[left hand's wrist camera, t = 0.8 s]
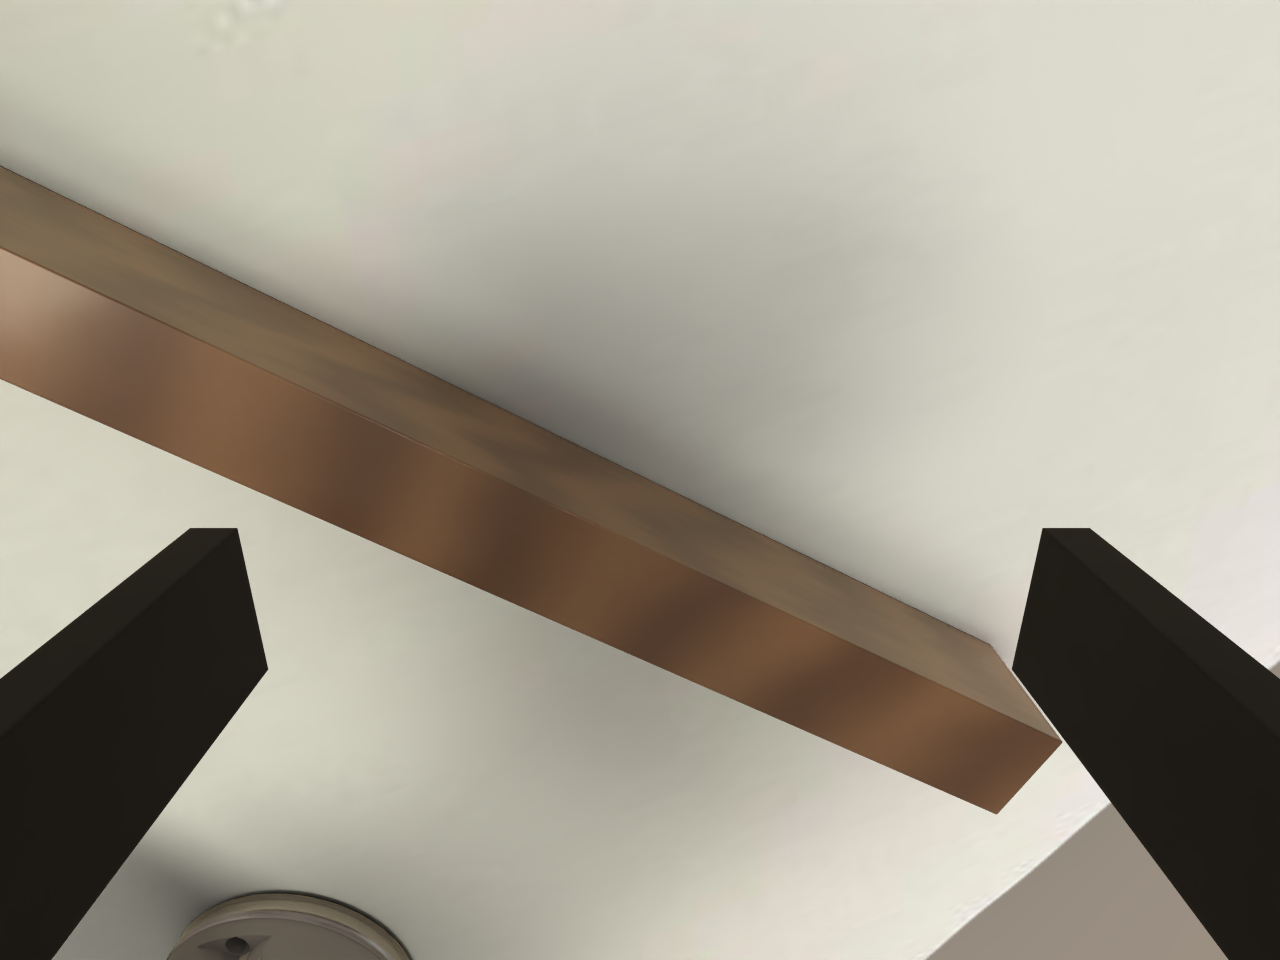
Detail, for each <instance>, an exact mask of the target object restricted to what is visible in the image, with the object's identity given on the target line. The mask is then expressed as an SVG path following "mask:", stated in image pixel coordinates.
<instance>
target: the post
mask: <svg viewBox="0 0 1280 960" xmlns="http://www.w3.org/2000/svg"><path fill="white" fill-rule="evenodd" d="M0 379H2V380H4V381H6V382H8V383H11V384H13V385H15V386H18V387H20V388H22V389H25V390H27V391H29V392H31V393H34V394H36V395H38V396H41V397H43V398H45V399H47V400H50V401H52V402H54V403H57V404H59V405H61V406H63V407H66V408H68V409H70V410H73V411H75V412H77V413H79V414H82V415H84V416H86V417H89V418H91V419H93V420H95V421H98V422H100V423H102V424H105V425H107V426H109V427H111V428H114V429H116V430H118V431H121V432H123V433H125V434H127V435H130V436H132V437H134V438H137V439H139V440H141V441H143V442H146V443H148V444H150V445H153V446H155V447H157V448H159V449H162V450H164V451H166V452H169V453H171V454H173V455H175V456H178V457H180V458H182V459H185V460H187V461H189V462H191V463H194V464H196V465H198V466H201V467H203V468H205V469H208V470H210V471H212V472H214V473H217V474H219V475H221V476H224V477H226V478H228V479H230V480H233V481H235V482H237V483H240V484H242V485H244V486H246V487H249V488H251V489H253V490H256V491H258V492H260V493H262V494H265V495H267V496H269V497H272V498H274V499H276V500H278V501H281V502H283V503H285V504H288V505H290V506H292V507H294V508H297V509H299V510H301V511H304V512H306V513H308V514H310V515H313V516H315V517H317V518H320V519H322V520H324V521H326V522H329V523H331V524H333V525H336V526H338V527H340V528H342V529H345V530H347V531H349V532H352V533H354V534H356V535H358V536H361V537H363V538H365V539H368V540H370V541H372V542H374V543H377V544H379V545H381V546H384V547H386V548H388V549H390V550H393V551H395V552H397V553H400V554H402V555H404V556H407V557H409V558H411V559H413V560H416V561H418V562H420V563H423V564H425V565H427V566H429V567H432V568H434V569H436V570H439V571H441V572H443V573H445V574H448V575H450V576H452V577H455V578H457V579H459V580H461V581H464V582H466V583H468V584H471V585H473V586H475V587H477V588H480V589H482V590H484V591H487V592H489V593H491V594H493V595H496V596H498V597H500V598H503V599H505V600H507V601H509V602H512V603H514V604H516V605H519V606H521V607H523V608H525V609H528V610H530V611H532V612H535V613H537V614H539V615H541V616H544V617H546V618H548V619H551V620H553V621H555V622H557V623H560V624H562V625H564V626H567V627H569V628H571V629H573V630H576V631H578V632H580V633H583V634H585V635H587V636H590V637H592V638H594V639H596V640H599V641H601V642H603V643H606V644H608V645H610V646H612V647H615V648H617V649H619V650H622V651H624V652H626V653H628V654H631V655H633V656H635V657H638V658H640V659H642V660H644V661H647V662H649V663H651V664H654V665H656V666H658V667H660V668H663V669H665V670H667V671H670V672H672V673H674V674H676V675H679V676H681V677H683V678H686V679H688V680H690V681H692V682H695V683H697V684H699V685H702V686H704V687H706V688H708V689H711V690H713V691H715V692H718V693H720V694H722V695H724V696H727V697H729V698H731V699H734V700H736V701H738V702H740V703H743V704H745V705H747V706H750V707H752V708H754V709H756V710H759V711H761V712H763V713H766V714H768V715H770V716H772V717H775V718H777V719H779V720H782V721H784V722H786V723H789V724H791V725H793V726H795V727H798V728H800V729H802V730H805V731H807V732H809V733H811V734H814V735H816V736H818V737H821V738H823V739H825V740H827V741H830V742H832V743H834V744H837V745H839V746H841V747H843V748H846V749H848V750H850V751H853V752H855V753H857V754H859V755H862V756H864V757H866V758H869V759H871V760H873V761H875V762H878V763H880V764H882V765H885V766H887V767H889V768H891V769H894V770H896V771H898V772H901V773H903V774H905V775H907V776H910V777H912V778H914V779H917V780H919V781H921V782H923V783H926V784H928V785H930V786H933V787H935V788H937V789H939V790H942V791H944V792H946V793H949V794H951V795H953V796H955V797H958V798H960V799H962V800H965V801H967V802H969V803H972V804H974V805H976V806H978V807H981V808H983V809H985V810H988V811H990V812H992V813H994V814H998V813H999V812H1000V811H1001V809H1002V808H1003V807H1004V806H1005V805H1006V804H1007V803H1008V802H1009V801H1010V800H1011V798H1012V797H1013V796H1014V795H1015V794H1016V793H1017V792H1018V791H1019V790H1020V789H1021V787H1022V786H1023V785H1024V784H1025V783H1026V782H1027V781H1028V780H1029V779H1030V778H1031V777H1032V775H1033V774H1034V773H1035V772H1036V771H1037V770H1038V769H1039V768H1040V767H1041V766H1042V764H1043V763H1044V762H1045V761H1046V760H1047V759H1048V758H1049V757H1050V756H1051V755H1052V753H1053V752H1054V751H1055V750H1056V749H1057V748H1058V747H1059V746H1060V745H1061V744H1062V740H1061V739H1060V738H1059V736H1058V735H1057V734H1056V732H1055V731H1054V730H1053V728H1052V727H1051V726H1050V724H1049V723H1048V722H1047V720H1046V719H1045V718H1044V716H1043V715H1042V713H1041V712H1040V711H1039V709H1038V708H1037V707H1036V705H1035V704H1034V703H1033V701H1032V700H1031V699H1030V697H1029V696H1028V695H1027V693H1026V692H1025V690H1024V689H1023V688H1022V686H1021V685H1020V684H1019V682H1018V681H1017V680H1016V678H1015V677H1014V676H1013V674H1012V673H1011V672H1010V670H1009V669H1008V668H1007V666H1006V665H1005V663H1004V662H1003V661H1002V659H1001V658H1000V657H999V655H998V654H997V653H996V651H995V650H994V649H993V647H992V646H991V645H989V644H987V643H985V642H982V641H980V640H978V639H976V638H974V637H972V636H970V635H968V634H966V633H964V632H962V631H960V630H958V629H956V628H954V627H951V626H949V625H947V624H945V623H943V622H941V621H939V620H937V619H935V618H933V617H931V616H929V615H927V614H925V613H923V612H920V611H918V610H916V609H914V608H912V607H910V606H908V605H906V604H904V603H902V602H900V601H898V600H896V599H894V598H892V597H889V596H887V595H885V594H883V593H881V592H879V591H877V590H875V589H873V588H871V587H869V586H867V585H865V584H863V583H861V582H858V581H856V580H854V579H852V578H850V577H848V576H846V575H844V574H842V573H840V572H838V571H836V570H834V569H832V568H830V567H827V566H825V565H823V564H821V563H819V562H817V561H815V560H813V559H811V558H809V557H807V556H805V555H803V554H801V553H799V552H796V551H794V550H792V549H790V548H788V547H786V546H784V545H782V544H780V543H778V542H776V541H774V540H772V539H770V538H768V537H765V536H763V535H761V534H759V533H757V532H755V531H753V530H751V529H749V528H747V527H745V526H743V525H741V524H739V523H737V522H734V521H732V520H730V519H728V518H726V517H724V516H722V515H720V514H718V513H716V512H714V511H712V510H710V509H708V508H706V507H703V506H701V505H699V504H697V503H695V502H693V501H691V500H689V499H687V498H685V497H683V496H681V495H679V494H677V493H675V492H672V491H670V490H668V489H666V488H664V487H662V486H660V485H658V484H656V483H654V482H652V481H650V480H648V479H646V478H644V477H641V476H639V475H637V474H635V473H633V472H631V471H629V470H627V469H625V468H623V467H621V466H619V465H617V464H615V463H613V462H610V461H608V460H606V459H604V458H602V457H600V456H598V455H596V454H594V453H592V452H590V451H588V450H586V449H584V448H581V447H579V446H577V445H575V444H573V443H571V442H569V441H567V440H565V439H563V438H561V437H559V436H557V435H555V434H553V433H550V432H548V431H546V430H544V429H542V428H540V427H538V426H536V425H534V424H532V423H530V422H528V421H526V420H524V419H522V418H519V417H517V416H515V415H513V414H511V413H509V412H507V411H505V410H503V409H501V408H499V407H497V406H495V405H493V404H491V403H488V402H486V401H484V400H482V399H480V398H478V397H476V396H474V395H472V394H470V393H468V392H466V391H464V390H462V389H460V388H457V387H455V386H453V385H451V384H449V383H447V382H445V381H443V380H441V379H439V378H437V377H435V376H433V375H431V374H429V373H426V372H424V371H422V370H420V369H418V368H416V367H414V366H412V365H410V364H408V363H406V362H404V361H402V360H400V359H398V358H395V357H393V356H391V355H389V354H387V353H385V352H383V351H381V350H379V349H377V348H375V347H373V346H371V345H369V344H367V343H364V342H362V341H360V340H358V339H356V338H354V337H352V336H350V335H348V334H346V333H344V332H342V331H340V330H338V329H336V328H333V327H331V326H329V325H327V324H325V323H323V322H321V321H319V320H317V319H315V318H313V317H311V316H309V315H307V314H305V313H302V312H300V311H298V310H296V309H294V308H292V307H290V306H288V305H286V304H284V303H282V302H280V301H278V300H276V299H274V298H271V297H269V296H267V295H265V294H263V293H261V292H259V291H257V290H255V289H253V288H251V287H249V286H247V285H245V284H243V283H240V282H238V281H236V280H234V279H232V278H230V277H228V276H226V275H224V274H222V273H220V272H218V271H216V270H214V269H212V268H209V267H207V266H205V265H203V264H201V263H199V262H197V261H195V260H193V259H191V258H189V257H187V256H185V255H183V254H181V253H178V252H176V251H174V250H172V249H170V248H168V247H166V246H164V245H162V244H160V243H158V242H156V241H154V240H152V239H150V238H147V237H145V236H143V235H141V234H139V233H137V232H135V231H133V230H131V229H129V228H127V227H125V226H123V225H121V224H119V223H116V222H114V221H112V220H110V219H108V218H106V217H104V216H102V215H100V214H98V213H96V212H94V211H92V210H90V209H88V208H85V207H83V206H81V205H79V204H77V203H75V202H73V201H71V200H69V199H67V198H65V197H63V196H61V195H59V194H56V193H54V192H52V191H50V190H48V189H46V188H44V187H42V186H40V185H38V184H36V183H34V182H32V181H30V180H28V179H25V178H23V177H21V176H19V175H17V174H15V173H13V172H11V171H9V170H7V169H5V168H3V167H1V166H0Z"/></svg>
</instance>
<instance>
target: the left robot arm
mask: <svg viewBox="0 0 1280 960" xmlns="http://www.w3.org/2000/svg"><path fill="white" fill-rule="evenodd" d="M267 670H268V666H267V662H266V657H265V653H264V648H263V643H262V639H261V634H260V630H259V625H258V621H257V616H256V611H255V607H254V602H253V598H252V593H251V589H250V584H249V579H248V575H247V570H246V566H245V561H244V557H243V552H242V547H241V543H240V538H239V534H238V529H237V528H190V529H189V530H187V531H186V532H185V533H184V534H182V535H181V536H180V537H179V538H177V539H176V540H175V541H174V542H172V543H171V544H170V545H168V546H167V547H166V548H165V549H163V550H162V551H161V552H160V553H158V554H157V555H156V556H155V557H153V558H152V559H151V560H150V561H148V562H147V563H146V564H145V565H143V566H142V567H141V568H139V569H138V570H137V571H136V572H134V573H133V574H132V575H131V576H129V577H128V578H127V579H126V580H124V581H123V582H122V583H121V584H119V585H118V586H117V587H116V588H114V589H113V590H112V591H111V592H109V593H108V594H107V595H105V596H104V597H103V598H102V599H100V600H99V601H98V602H97V603H95V604H94V605H93V606H92V607H90V608H89V609H88V610H87V611H85V612H84V613H83V614H82V615H80V616H79V617H78V618H76V619H75V620H74V621H73V622H71V623H70V624H69V625H68V626H66V627H65V628H64V629H63V630H61V631H60V632H59V633H58V634H56V635H55V636H54V637H53V638H51V639H50V640H49V641H47V642H46V643H45V644H44V645H42V646H41V647H40V648H39V649H37V650H36V651H35V652H34V653H32V654H31V655H30V656H29V657H27V658H26V659H25V660H24V661H22V662H21V663H20V664H19V665H17V666H16V667H15V668H13V669H12V670H11V671H10V672H8V673H7V674H6V675H5V676H3V677H2V678H1V679H0V960H51V959H52V958H53V957H54V955H55V954H56V953H57V951H58V950H59V949H60V947H61V946H62V945H63V943H64V942H65V941H66V939H67V938H68V937H69V935H70V934H71V933H72V931H73V930H74V929H75V927H76V926H77V925H78V923H79V922H80V921H81V919H82V918H83V917H84V915H85V914H86V913H87V911H88V910H89V909H90V907H91V906H92V905H93V903H94V902H95V901H96V899H97V898H98V897H99V895H100V894H101V893H102V891H103V890H104V888H105V887H106V886H107V884H108V883H109V882H110V880H111V879H112V878H113V876H114V875H115V874H116V872H117V871H118V870H119V868H120V867H121V866H122V864H123V863H124V862H125V860H126V859H127V858H128V856H129V855H130V854H131V852H132V851H133V850H134V848H135V847H136V846H137V844H138V843H139V842H140V840H141V839H142V838H143V836H144V835H145V834H146V832H147V831H148V830H149V828H150V827H151V826H152V824H153V823H154V822H155V820H156V819H157V818H158V816H159V815H160V813H161V812H162V811H163V809H164V808H165V807H166V805H167V804H168V803H169V801H170V800H171V799H172V797H173V796H174V795H175V793H176V792H177V791H178V789H179V788H180V787H181V785H182V784H183V783H184V781H185V780H186V779H187V777H188V776H189V775H190V773H191V772H192V771H193V769H194V768H195V767H196V765H197V764H198V763H199V761H200V760H201V759H202V757H203V756H204V755H205V753H206V752H207V751H208V749H209V748H210V747H211V745H212V744H213V743H214V741H215V740H216V739H217V737H218V736H219V734H220V733H221V732H222V730H223V729H224V728H225V726H226V725H227V724H228V722H229V721H230V720H231V718H232V717H233V716H234V714H235V713H236V712H237V710H238V709H239V708H240V706H241V705H242V704H243V702H244V701H245V700H246V698H247V697H248V696H249V694H250V693H251V692H252V690H253V689H254V688H255V686H256V685H257V684H258V682H259V681H260V680H261V678H262V677H263V676H264V674H265V673H266V672H267ZM1012 670H1013V672H1014V673H1015V674H1016V676H1017V677H1018V678H1019V680H1020V681H1021V682H1022V684H1023V685H1024V686H1025V688H1026V689H1027V690H1028V692H1029V693H1030V694H1031V696H1032V697H1033V698H1034V700H1035V701H1036V702H1037V704H1038V705H1039V706H1040V708H1041V709H1042V710H1043V712H1044V713H1045V714H1046V716H1047V717H1048V718H1049V720H1050V721H1051V722H1052V724H1053V725H1054V726H1055V728H1056V729H1057V730H1058V732H1059V733H1060V734H1061V736H1062V737H1063V739H1064V740H1065V741H1066V743H1067V744H1068V745H1069V747H1070V748H1071V749H1072V751H1073V752H1074V753H1075V755H1076V756H1077V757H1078V759H1079V760H1080V761H1081V763H1082V764H1083V765H1084V767H1085V768H1086V769H1087V771H1088V772H1089V773H1090V775H1091V776H1092V777H1093V779H1094V780H1095V781H1096V783H1097V784H1098V785H1099V787H1100V788H1101V789H1102V791H1103V792H1104V793H1105V795H1106V796H1107V797H1108V799H1109V800H1110V801H1111V803H1112V804H1113V805H1114V807H1115V808H1116V809H1117V811H1118V812H1119V813H1120V815H1121V816H1122V818H1123V819H1124V820H1125V822H1126V823H1127V824H1128V826H1129V827H1130V828H1131V830H1132V831H1133V832H1134V834H1135V835H1136V836H1137V838H1138V839H1139V840H1140V842H1141V843H1142V844H1143V845H1144V847H1145V848H1146V850H1147V851H1148V852H1149V854H1150V855H1151V856H1152V858H1153V859H1154V860H1155V862H1156V863H1157V864H1158V866H1159V867H1160V868H1161V870H1162V871H1163V872H1164V874H1165V875H1166V876H1167V878H1168V879H1169V880H1170V882H1171V883H1172V884H1173V886H1174V887H1175V888H1176V890H1177V891H1178V893H1179V894H1180V895H1181V896H1182V898H1183V899H1184V900H1185V902H1186V903H1187V905H1188V906H1189V907H1190V909H1191V910H1192V911H1193V913H1194V914H1195V915H1196V917H1197V918H1198V919H1199V921H1200V922H1201V923H1202V925H1203V926H1204V927H1205V929H1206V930H1207V931H1208V933H1209V934H1210V935H1211V937H1212V938H1213V939H1214V941H1215V942H1216V943H1217V945H1218V946H1219V947H1220V949H1221V950H1222V951H1223V953H1224V954H1225V955H1226V957H1227V958H1228V959H1229V960H1280V679H1279V678H1278V677H1277V676H1275V675H1274V674H1273V673H1272V672H1270V671H1269V670H1268V669H1267V668H1265V667H1264V666H1263V665H1261V664H1260V663H1259V662H1258V661H1256V660H1255V659H1254V658H1253V657H1251V656H1250V655H1249V654H1248V653H1246V652H1245V651H1244V650H1243V649H1241V648H1240V647H1239V646H1238V645H1236V644H1235V643H1234V642H1233V641H1231V640H1230V639H1229V638H1227V637H1226V636H1225V635H1224V634H1222V633H1221V632H1220V631H1219V630H1217V629H1216V628H1215V627H1214V626H1212V625H1211V624H1210V623H1209V622H1207V621H1206V620H1205V619H1204V618H1202V617H1201V616H1200V615H1198V614H1197V613H1196V612H1195V611H1193V610H1192V609H1191V608H1190V607H1188V606H1187V605H1186V604H1185V603H1183V602H1182V601H1181V600H1180V599H1178V598H1177V597H1176V596H1175V595H1173V594H1172V593H1171V592H1169V591H1168V590H1167V589H1166V588H1164V587H1163V586H1162V585H1161V584H1159V583H1158V582H1157V581H1156V580H1154V579H1153V578H1152V577H1151V576H1149V575H1148V574H1147V573H1146V572H1144V571H1143V570H1142V569H1141V568H1139V567H1138V566H1137V565H1135V564H1134V563H1133V562H1132V561H1130V560H1129V559H1128V558H1127V557H1125V556H1124V555H1123V554H1122V553H1120V552H1119V551H1118V550H1117V549H1115V548H1114V547H1113V546H1112V545H1110V544H1109V543H1108V542H1106V541H1105V540H1104V539H1103V538H1101V537H1100V536H1099V535H1098V534H1096V533H1095V532H1094V531H1093V530H1091V529H1090V528H1043V529H1042V534H1041V538H1040V543H1039V547H1038V552H1037V557H1036V561H1035V566H1034V570H1033V575H1032V579H1031V584H1030V589H1029V593H1028V598H1027V602H1026V607H1025V611H1024V616H1023V621H1022V625H1021V630H1020V634H1019V639H1018V643H1017V648H1016V653H1015V657H1014V662H1013V666H1012ZM167 960H410V959H409V957H408V956H407V954H406V953H405V951H404V950H403V948H402V947H401V946H400V945H399V944H398V942H397V941H396V940H395V939H394V938H393V937H392V936H391V935H390V934H389V933H387V932H386V931H385V930H384V929H383V928H381V927H380V926H379V925H377V924H376V923H374V922H373V921H371V920H370V919H368V918H366V917H365V916H363V915H361V914H359V913H357V912H355V911H353V910H351V909H349V908H346V907H343V906H341V905H338V904H335V903H332V902H329V901H326V900H322V899H318V898H314V897H308V896H302V895H294V894H258V895H250V896H245V897H240V898H236V899H232V900H229V901H226V902H224V903H221V904H218V905H216V906H214V907H212V908H210V909H208V910H207V911H205V912H204V913H202V914H201V915H199V916H198V917H197V918H196V919H194V920H193V921H192V922H191V923H190V924H189V925H188V926H187V928H186V929H185V931H184V932H183V933H182V935H181V936H180V938H179V940H178V941H177V943H176V945H175V946H174V948H173V950H172V951H171V953H170V955H169V956H168V958H167Z"/></svg>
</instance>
